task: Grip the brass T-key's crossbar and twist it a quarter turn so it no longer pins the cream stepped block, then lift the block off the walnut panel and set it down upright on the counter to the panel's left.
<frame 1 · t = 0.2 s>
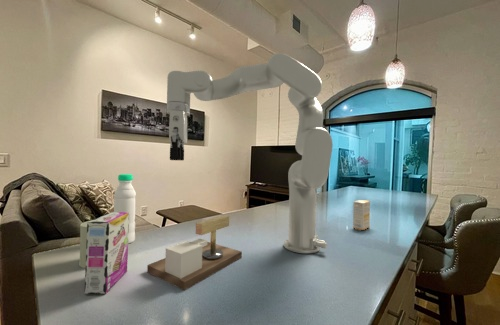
hand: (177, 160, 78), 31 cm above the kitchen island, tool pointing down, fingers open, 9 cm apart
t key: (212, 255, 70), point 2 cm above the kitchen island, touching panel
cream stepped block: (183, 269, 60), point 2 cm above the kitchen island, touching panel
supplement box: (361, 228, 110), on the kitchen island
water bottle: (124, 242, 85), on the kitchen island
can: (98, 261, 69), on the kitchen island
panel: (198, 264, 68), on the kitchen island
candy bar box: (108, 283, 57), on the kitchen island
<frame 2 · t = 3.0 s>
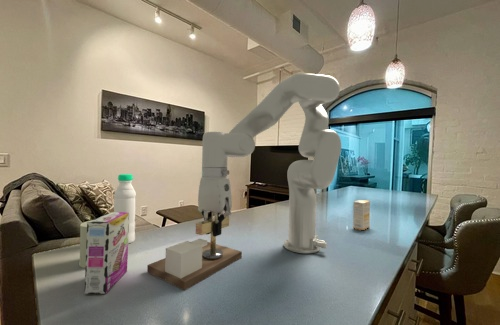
hand: (213, 233, 70), 9 cm above the kitchen island, tool pointing down, fingers closed on t key, 2 cm apart
t key: (212, 255, 70), point 2 cm above the kitchen island, touching gripper, panel
everything else where it was.
when the fingers open (9 cm above the kitchen island, at t = 4.6 s): t key stays where it is, resting on panel.
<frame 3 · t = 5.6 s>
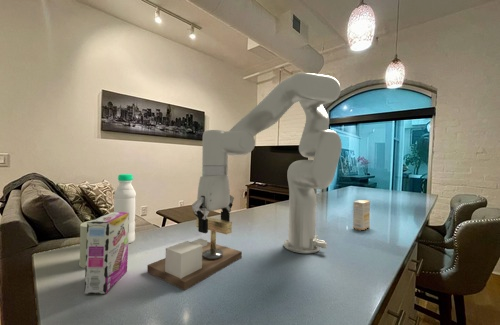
hand: (214, 228, 70), 10 cm above the kitchen island, tool pointing down, fingers open, 9 cm apart
t key: (212, 256, 70), point 2 cm above the kitchen island, touching panel
everything else where it was.
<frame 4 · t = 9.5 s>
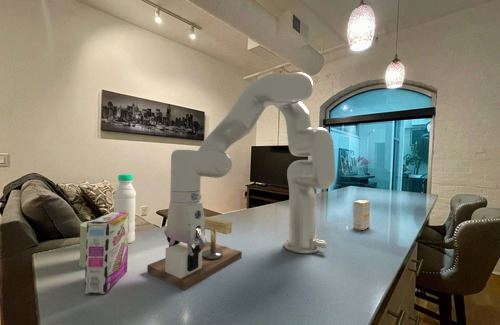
hand: (183, 265, 60), 3 cm above the kitchen island, tool pointing down, fingers closed on cream stepped block, 6 cm apart
cream stepped block: (183, 269, 60), point 2 cm above the kitchen island, touching gripper, panel
everything else where it was.
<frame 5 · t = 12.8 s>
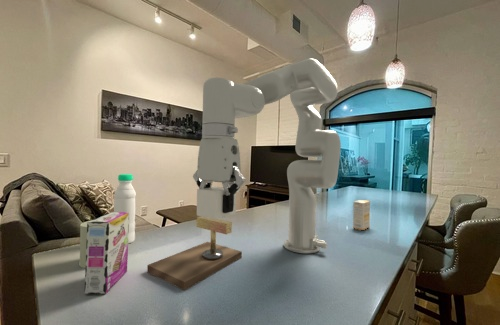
hand: (216, 209, 54), 19 cm above the kitchen island, tool pointing down, fingers closed on cream stepped block, 6 cm apart
cream stepped block: (216, 214, 54), point 18 cm above the kitchen island, touching gripper
everything else where it was.
when the fingers open (3 cm above the kitchen island, at t = 16.3 s): cream stepped block drops 2 cm, on the kitchen island.
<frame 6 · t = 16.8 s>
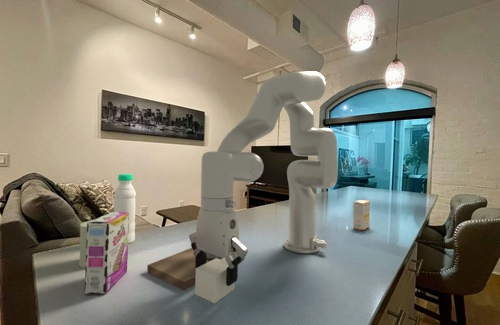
hand: (215, 276, 54), 3 cm above the kitchen island, tool pointing down, fingers open, 9 cm apart
cream stepped block: (215, 291, 54), on the kitchen island
everything else where it was.
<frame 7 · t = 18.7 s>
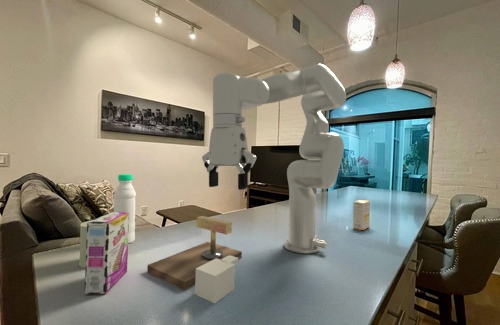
hand: (227, 187, 61), 24 cm above the kitchen island, tool pointing down, fingers open, 9 cm apart
nothing on the kitchen island moved.
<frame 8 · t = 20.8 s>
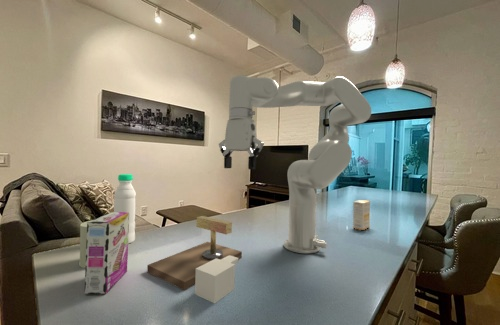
hand: (239, 168, 75), 28 cm above the kitchen island, tool pointing down, fingers open, 9 cm apart
nothing on the kitchen island moved.
at the end: cream stepped block inside the target area (0.0 cm from its centre), on the kitchen island; cream stepped block tilted 0°; t key moved 0.1 cm from its start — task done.
